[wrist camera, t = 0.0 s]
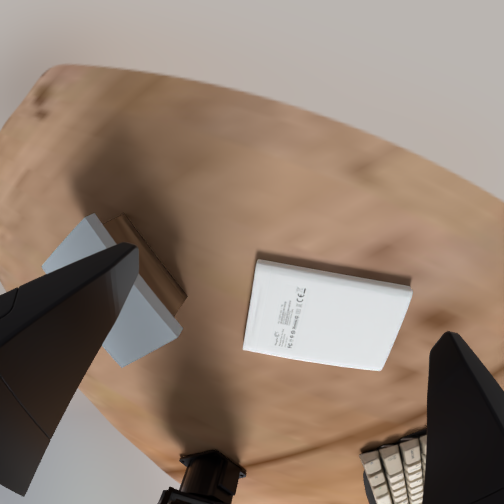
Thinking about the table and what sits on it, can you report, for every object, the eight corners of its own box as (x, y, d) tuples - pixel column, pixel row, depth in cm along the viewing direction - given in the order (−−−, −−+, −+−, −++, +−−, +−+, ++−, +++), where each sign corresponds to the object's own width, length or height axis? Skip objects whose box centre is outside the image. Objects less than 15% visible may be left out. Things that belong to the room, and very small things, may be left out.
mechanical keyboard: (331, 451, 32) (332, 473, 29) (480, 397, 28) (491, 416, 24) (376, 533, 42) (377, 546, 39) (465, 504, 37) (468, 516, 34)
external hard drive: (377, 361, 27) (244, 341, 28) (408, 282, 24) (258, 255, 25) (380, 372, 26) (241, 352, 27) (414, 291, 23) (256, 263, 24)
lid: (128, 359, 24) (121, 367, 23) (50, 261, 22) (41, 266, 21) (183, 328, 22) (177, 337, 21) (94, 212, 20) (84, 217, 19)
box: (148, 321, 28) (127, 348, 24) (90, 245, 26) (60, 264, 22) (187, 296, 27) (168, 324, 22) (124, 213, 25) (94, 228, 21)
